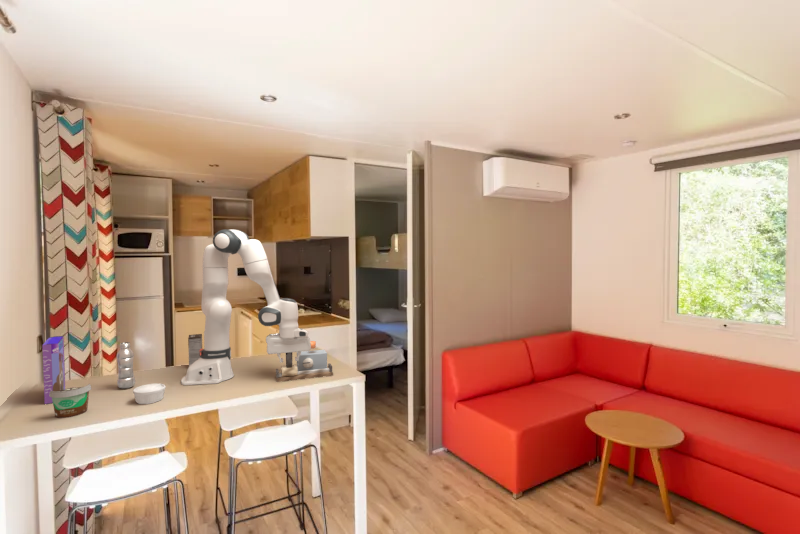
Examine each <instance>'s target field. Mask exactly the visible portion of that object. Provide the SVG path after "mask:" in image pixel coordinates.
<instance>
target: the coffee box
mask: <svg viewBox="0 0 800 534" xmlns="http://www.w3.org/2000/svg"><path fill="white" fill-rule="evenodd" d="M187 339H188V342H187V343H188V344H187V345H188V367H189V366H190V365H191V364H193V363H194V362H195V361H196V360H198V359H199V358H200V352H199V351H200V349H203V335H202V333H198V334H197V333H193V334H189V335H188V337H187Z"/></svg>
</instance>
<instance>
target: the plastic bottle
mask: <svg viewBox="0 0 800 534" xmlns="http://www.w3.org/2000/svg"><path fill="white" fill-rule="evenodd" d="M134 357H135V352H134V351H133V350H132V349H131V342H130V341H129V342H128V341H127V342H126V341H125V342H121V343H119V350H118V351H117V353H116V362H117V368H118V369H117V370H118V374H117V375H118V377H117V382H116V383H117V387H118V388H119V389H129V388H132V387H133V386H134V385H135V384H136V377H135V375H134V359H135V358H134Z"/></svg>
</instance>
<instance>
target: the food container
mask: <svg viewBox="0 0 800 534" xmlns="http://www.w3.org/2000/svg"><path fill="white" fill-rule="evenodd" d="M91 390H92V386H91V384H90V383H88V385H86V386H79V387H70V388H68V387H67V388H65V389H64V390H60V391H52V390H51V391H50V394H49V396H50V397H52V401H53V403H52V405H53V410H54V411H53V412H54V416H55V418H56V419H57V418H58V419H67V418H72V417H76V416H80V415H82V414H84V413H86V412H87V411H88V406H89V396H90V395H89V394H90V391H91Z"/></svg>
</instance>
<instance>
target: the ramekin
mask: <svg viewBox="0 0 800 534" xmlns="http://www.w3.org/2000/svg"><path fill="white" fill-rule="evenodd" d="M165 390H166V385H165V384H163V383H148V384H142V385H140V386H137V387H135V388H134V389H133V390H132V393H133V394H134V395H133V396H134V399H135V402H136V403H137V404H139V405H150V404H154V403H158V402H159V401H161V400H162V399H164V396H165Z"/></svg>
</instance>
